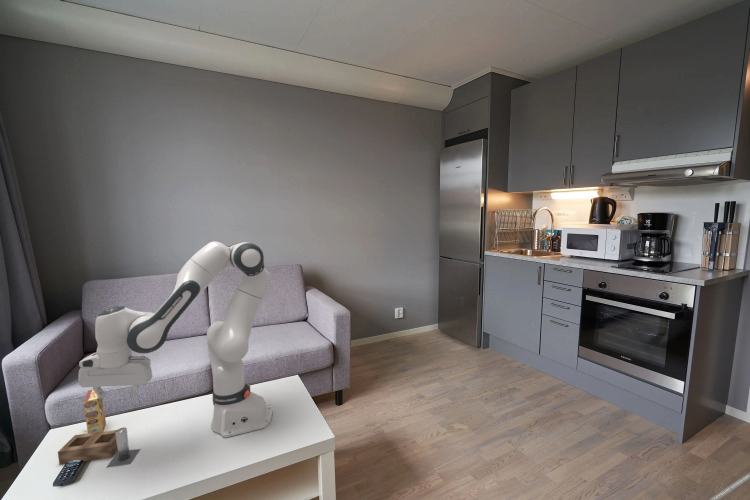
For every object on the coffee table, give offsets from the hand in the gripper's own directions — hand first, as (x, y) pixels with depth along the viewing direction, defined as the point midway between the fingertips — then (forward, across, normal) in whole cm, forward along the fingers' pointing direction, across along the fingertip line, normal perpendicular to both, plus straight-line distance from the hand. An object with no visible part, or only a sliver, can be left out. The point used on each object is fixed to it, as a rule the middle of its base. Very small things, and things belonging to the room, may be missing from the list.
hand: (118, 397), depth 106 cm
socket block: (+22, +11, -3) cm, 25 cm away
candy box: (+22, +17, -15) cm, 32 cm away
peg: (+21, -1, +1) cm, 21 cm away
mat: (+22, -1, +1) cm, 22 cm away
